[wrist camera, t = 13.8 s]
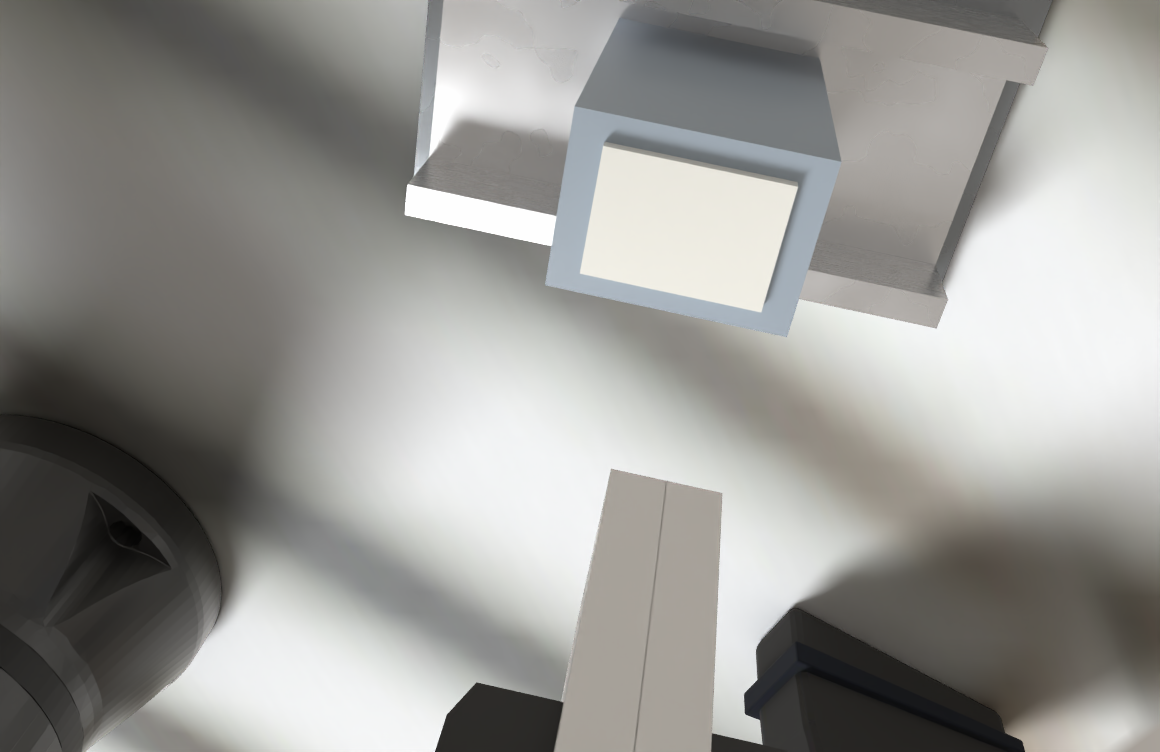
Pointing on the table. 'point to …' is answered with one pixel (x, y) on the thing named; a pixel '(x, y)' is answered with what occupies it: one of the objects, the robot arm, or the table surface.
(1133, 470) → the table surface
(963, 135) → the grey piece
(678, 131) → the block
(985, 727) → the magazine
